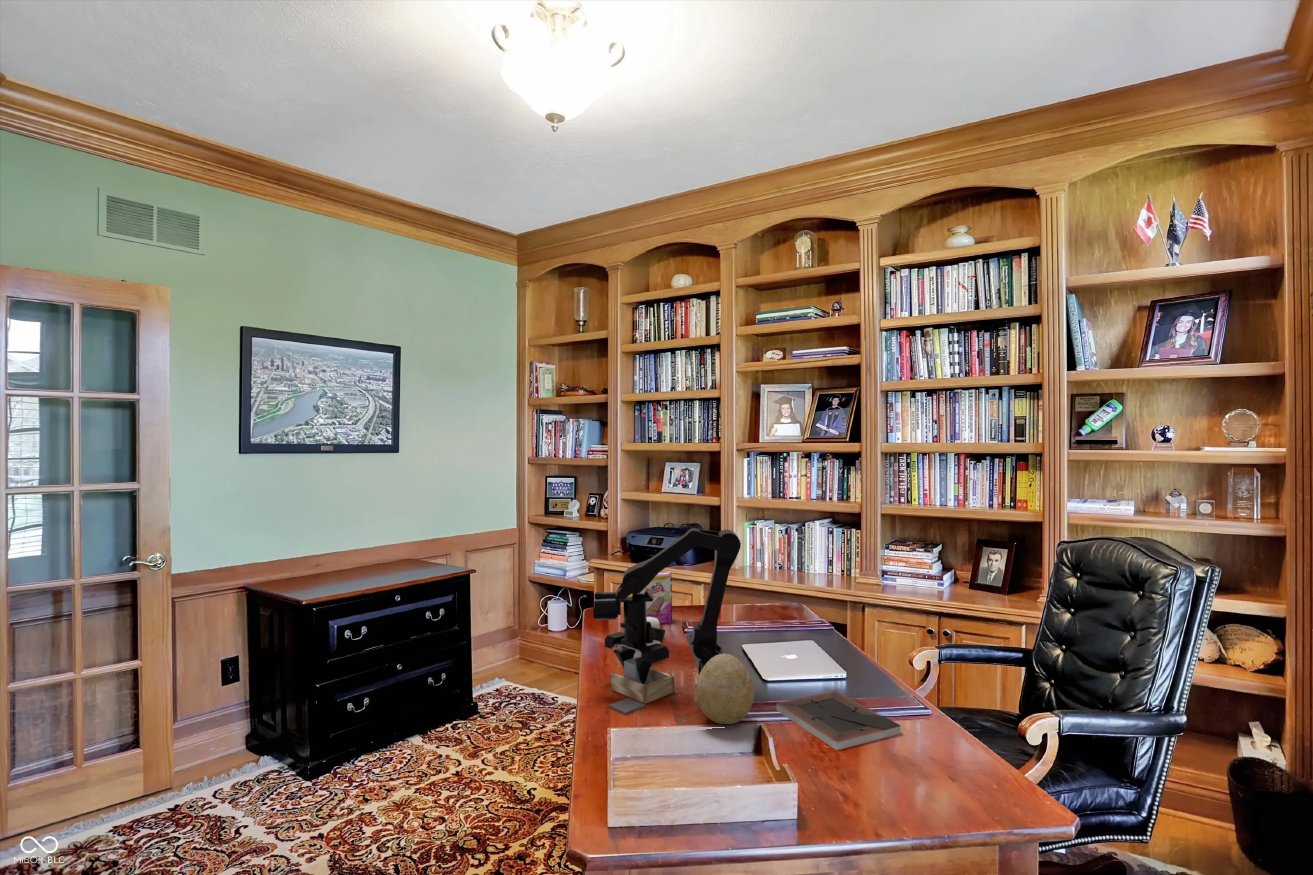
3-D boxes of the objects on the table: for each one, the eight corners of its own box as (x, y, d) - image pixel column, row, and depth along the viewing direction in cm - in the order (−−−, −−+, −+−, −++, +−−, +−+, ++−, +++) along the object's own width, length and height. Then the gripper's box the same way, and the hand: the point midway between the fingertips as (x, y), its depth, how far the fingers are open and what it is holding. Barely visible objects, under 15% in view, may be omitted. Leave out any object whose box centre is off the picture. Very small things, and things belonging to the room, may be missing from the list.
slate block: (649, 688, 172) (649, 660, 172) (636, 693, 169) (635, 665, 169) (638, 683, 176) (637, 656, 176) (624, 688, 173) (623, 660, 173)
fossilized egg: (687, 716, 156) (686, 650, 155) (737, 706, 160) (736, 642, 160) (712, 739, 144) (710, 668, 143) (765, 728, 148) (763, 659, 148)
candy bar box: (639, 625, 227) (637, 575, 227) (639, 621, 232) (638, 572, 232) (673, 624, 227) (671, 574, 227) (672, 619, 232) (671, 571, 232)
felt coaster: (645, 706, 161) (645, 704, 161) (625, 714, 157) (625, 712, 157) (628, 699, 166) (628, 697, 166) (609, 707, 162) (609, 705, 162)
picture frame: (900, 736, 144) (835, 699, 164) (900, 724, 144) (835, 689, 164) (836, 753, 138) (776, 713, 157) (836, 741, 138) (776, 702, 157)
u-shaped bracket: (674, 692, 170) (673, 676, 169) (645, 703, 163) (644, 686, 163) (640, 679, 179) (639, 663, 179) (611, 689, 173) (610, 673, 172)
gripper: (684, 618, 171) (686, 681, 171) (635, 605, 185) (636, 663, 185) (651, 628, 163) (652, 694, 163) (602, 614, 177) (604, 674, 177)
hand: (637, 680), depth 172 cm, fingers closed on slate block, 4 cm apart
